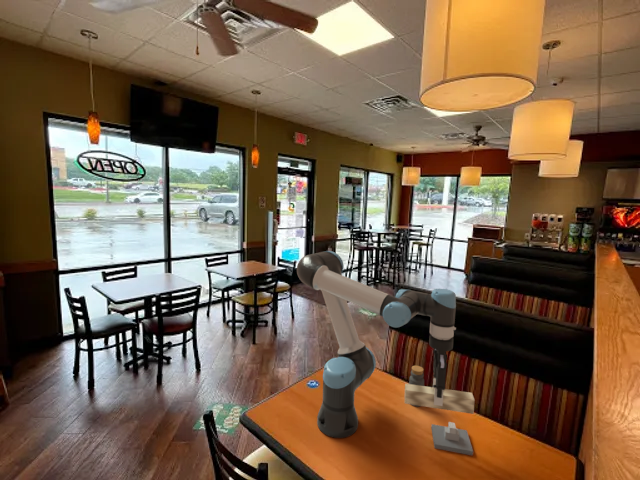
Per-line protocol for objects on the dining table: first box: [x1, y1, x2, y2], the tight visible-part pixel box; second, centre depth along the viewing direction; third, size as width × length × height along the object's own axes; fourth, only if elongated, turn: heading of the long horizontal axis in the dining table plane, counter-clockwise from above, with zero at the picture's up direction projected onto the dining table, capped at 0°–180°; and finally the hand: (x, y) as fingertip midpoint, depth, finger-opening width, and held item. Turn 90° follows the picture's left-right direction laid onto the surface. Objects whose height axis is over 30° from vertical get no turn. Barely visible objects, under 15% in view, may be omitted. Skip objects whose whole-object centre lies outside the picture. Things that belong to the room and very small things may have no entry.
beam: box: [404, 383, 476, 415], centre depth 109 cm, size 22×4×5 cm, turn 76°
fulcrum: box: [431, 421, 474, 456], centre depth 111 cm, size 12×10×6 cm
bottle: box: [408, 365, 425, 408], centre depth 131 cm, size 6×6×15 cm
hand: (437, 400), depth 109 cm, fingers closed on beam, 4 cm apart
